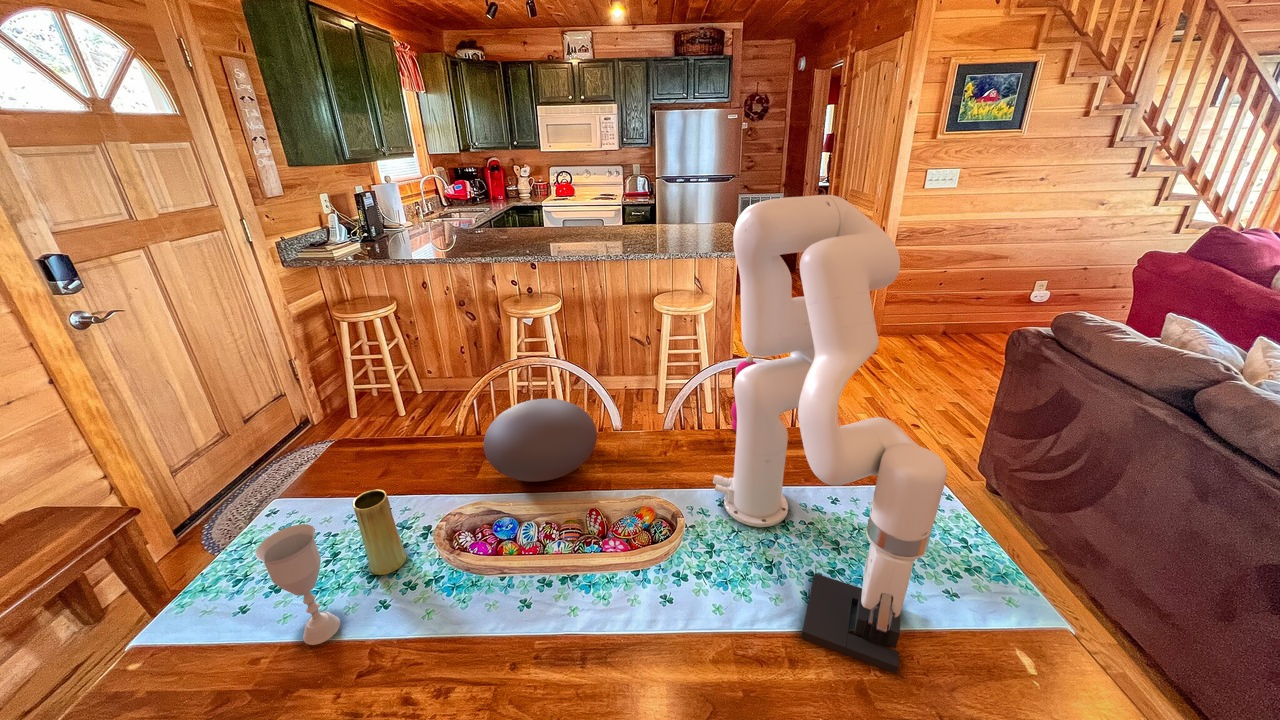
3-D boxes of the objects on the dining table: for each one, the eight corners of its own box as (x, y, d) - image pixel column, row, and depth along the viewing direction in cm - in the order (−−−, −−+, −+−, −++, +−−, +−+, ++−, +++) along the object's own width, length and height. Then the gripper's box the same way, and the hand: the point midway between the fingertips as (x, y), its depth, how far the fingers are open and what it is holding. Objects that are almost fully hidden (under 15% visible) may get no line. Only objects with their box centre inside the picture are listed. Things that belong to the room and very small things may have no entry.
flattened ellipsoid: (512, 433, 130) (504, 381, 123) (608, 438, 126) (605, 385, 120) (469, 496, 107) (457, 436, 101) (584, 505, 104) (579, 444, 98)
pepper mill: (758, 436, 126) (765, 363, 117) (729, 433, 127) (733, 361, 119) (758, 421, 132) (764, 351, 124) (730, 419, 134) (734, 349, 125)
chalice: (309, 659, 75) (269, 569, 67) (285, 637, 78) (245, 549, 70) (357, 621, 80) (325, 534, 73) (333, 603, 84) (300, 518, 76)
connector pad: (854, 633, 75) (857, 618, 74) (857, 604, 80) (860, 590, 79) (895, 648, 73) (899, 633, 72) (896, 617, 78) (900, 602, 76)
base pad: (800, 638, 76) (802, 631, 76) (813, 579, 86) (814, 572, 85) (896, 674, 71) (898, 667, 70) (898, 607, 81) (900, 600, 80)
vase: (414, 555, 93) (397, 493, 87) (386, 580, 88) (366, 515, 82) (390, 545, 95) (372, 484, 89) (362, 569, 90) (340, 505, 84)
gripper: (871, 487, 77) (854, 574, 85) (863, 566, 63) (842, 663, 71) (927, 500, 74) (903, 590, 82) (930, 587, 60) (902, 686, 68)
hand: (875, 623), depth 76 cm, fingers closed on connector pad, 5 cm apart
